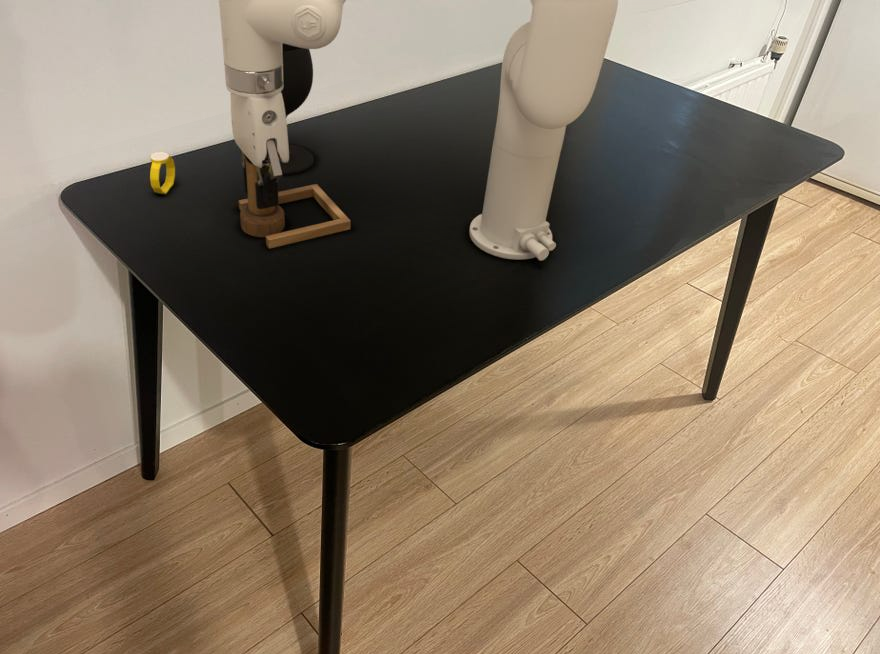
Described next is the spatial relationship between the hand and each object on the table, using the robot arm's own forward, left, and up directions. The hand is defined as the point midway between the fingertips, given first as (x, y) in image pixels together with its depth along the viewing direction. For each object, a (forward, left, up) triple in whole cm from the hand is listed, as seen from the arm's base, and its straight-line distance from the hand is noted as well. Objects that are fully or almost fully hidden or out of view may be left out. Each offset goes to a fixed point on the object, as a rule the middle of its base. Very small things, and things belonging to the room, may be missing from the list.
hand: (261, 197), depth 114 cm
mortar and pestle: (0, 0, -5) cm, 5 cm away
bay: (0, -5, -5) cm, 7 cm away
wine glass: (+18, -11, -5) cm, 22 cm away
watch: (+16, +10, -5) cm, 19 cm away
